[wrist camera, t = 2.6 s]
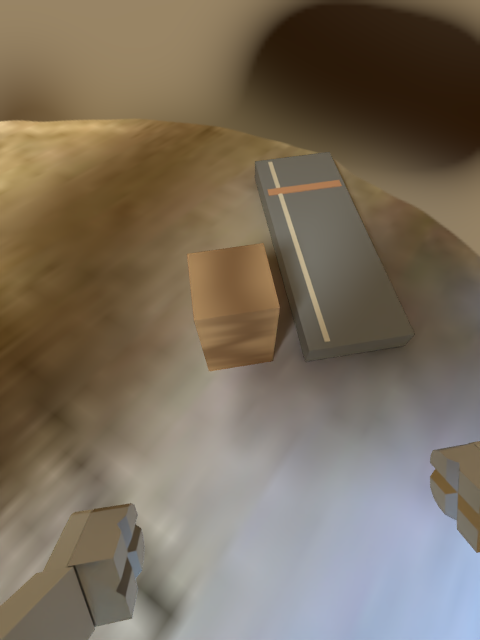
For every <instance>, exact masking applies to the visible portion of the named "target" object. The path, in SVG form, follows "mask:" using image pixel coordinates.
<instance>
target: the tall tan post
mask: <svg viewBox="0 0 480 640" xmlns="http://www.w3.org/2000/svg"><path fill="white" fill-rule="evenodd" d="M187 259H188V268H189V277H190V287H191V296H192V306H193V315H194V322H195V325H196V329H197V332H198V335H199V339H200V342H201V346H202V349H203V352H204V356H205V359H206V362H207V366H208V369H209V371H214V370H221V369H227V368H233V367H239V366H246V365H252V364H258V363H264V362H271V361H273V354H274V347H275V340H276V332H277V325H278V318H279V311H280V306H279V302H278V298H277V294H276V290H275V286H274V282H273V278H272V275H271V271H270V267H269V263H268V259H267V255H266V251H265V247H264V243H261V244H254V245H247V246H239V247H232V248H225V249H218V250H211V251H204V252H197V253H190V254H187Z"/></svg>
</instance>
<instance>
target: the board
mask: <svg viewBox="0 0 480 640" xmlns="http://www.w3.org/2000/svg"><path fill="white" fill-rule="evenodd" d="M255 180H256V184H257V188H258V191H259V195H260V198H261V202H262V206H263V209H264V213H265V217H266V220H267V224H268V227H269V231H270V235H271V238H272V242H273V246H274V249H275V253H276V257H277V260H278V264H279V267H280V271H281V275H282V278H283V282H284V286H285V289H286V293H287V297H288V300H289V304H290V307H291V311H292V315H293V318H294V322H295V326H296V329H297V333H298V337H299V340H300V344H301V347H302V351H303V355H304V358H305V362H307V361H313V360H319V359H325V358H332V357H338V356H344V355H350V354H356V353H363V352H369V351H375V350H381V349H387V348H394V347H400V346H405V344H406V343H407V342H408V341H409V340H410V339H411V338H412V337H413V336H414V335H415V333H414V331H413V329H412V327H411V325H410V323H409V321H408V318H407V316H406V314H405V312H404V310H403V308H402V306H401V303H400V301H399V299H398V297H397V295H396V293H395V291H394V289H393V286H392V284H391V282H390V280H389V278H388V276H387V274H386V271H385V269H384V267H383V265H382V263H381V261H380V259H379V256H378V254H377V252H376V250H375V248H374V246H373V244H372V242H371V239H370V237H369V235H368V233H367V231H366V229H365V227H364V224H363V222H362V220H361V218H360V216H359V214H358V212H357V210H356V207H355V205H354V203H353V201H352V199H351V197H350V195H349V192H348V190H347V188H346V186H345V184H344V182H343V180H342V178H341V175H340V173H339V171H338V169H337V167H336V165H335V163H334V160H333V158H332V156H331V154H330V152H325V153H317V154H310V155H302V156H294V157H286V158H279V159H271V160H263V161H255Z"/></svg>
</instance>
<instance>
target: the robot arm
mask: <svg viewBox="0 0 480 640" xmlns="http://www.w3.org/2000/svg"><path fill="white" fill-rule="evenodd" d="M430 463H431V464H432V465H433V466H434V468H435V470H434V472H433V473H432V475H431V476H430V488H431V491H432V494H433V497H434V499H435V501H436V503H437V505H438V506H439V508H440V509H441V510H442V511H443V513H444V514H445V515H447V516H449V517H451V518H453V519H455V520H457V530H458V531H459V532H460V533H461V535H462V536H463V537H464V538H465V539H466V541H467V542H468V543H469V544H470V545H471V547H472V548H473V549H474V550H475V551H476V553H478V552H480V441H478V442H473V443H468V444H464V445H459V446H453V447H448V448H442V449H437V450H433V451H432V453H431V458H430ZM136 519H137V511H136V508H135V505H134V504H132V503H130V504H123V505H116V506H110V507H103V508H97V509H94V510H86V511H79V512H75V513H73V514H72V515H71V516H70V518H69V520H68V522H67V524H66V526H65V528H64V530H63V532H62V534H61V536H60V538H59V540H58V542H57V544H56V546H55V548H54V550H53V552H52V554H51V556H50V558H49V560H48V562H47V564H46V566H45V569H44V571H43V572H41V573H36V574H35V575H34V576H33V577H32V578H31V579H30V580H29V581H28V582H26V583H25V584H24V585H23V586H22V587H21V588H20V589H19V590H18V591H17V592H16V593H14V594H13V595H12V596H11V597H10V598H9V599H8V600H7V601H6V602H5V603H4V604H2V605H1V606H0V640H88V639H89V637H90V636H91V634H92V633H93V632H94V630H95V628H94V627H97V626H101V625H105V624H110V623H114V622H119V621H123V620H128V619H132V616H133V611H134V606H135V601H136V596H137V591H138V587H137V583H136V580H135V578H136V577H137V576H138V575H139V573H140V572H141V571H142V566H143V561H144V539H143V533H142V529H141V528H140V527H139V526H137V525H136Z"/></svg>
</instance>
